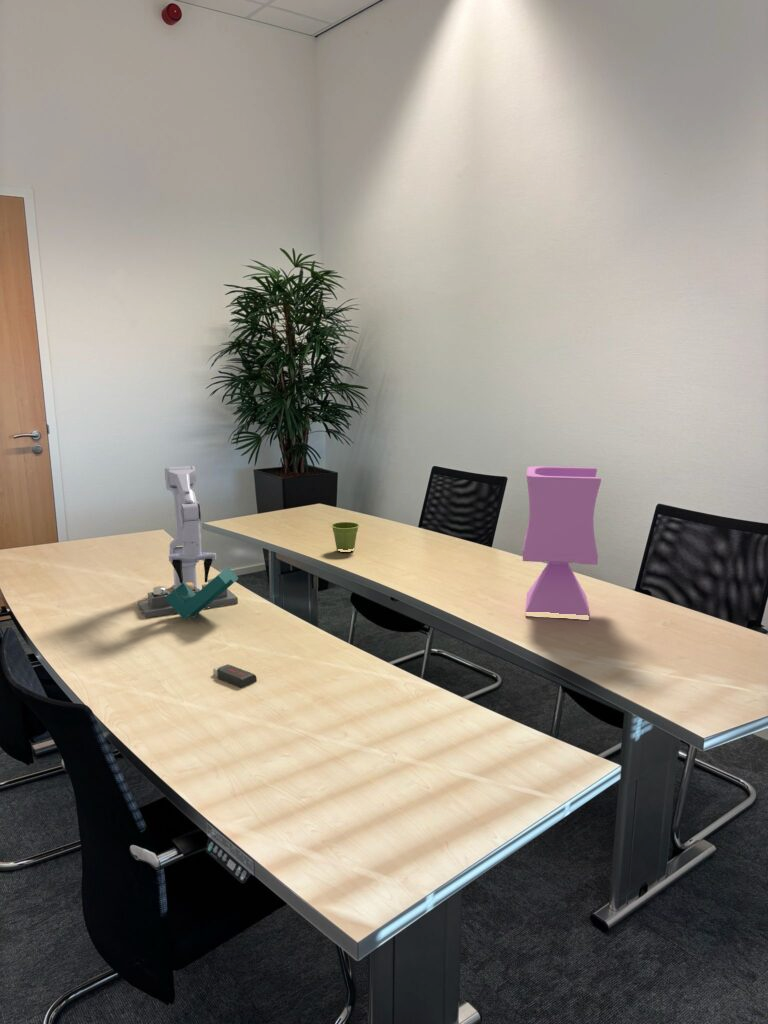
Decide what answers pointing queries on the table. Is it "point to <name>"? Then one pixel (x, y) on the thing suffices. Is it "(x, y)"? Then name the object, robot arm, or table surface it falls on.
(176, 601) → the teal l-shaped bracket
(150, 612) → the control panel
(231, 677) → the usb drive
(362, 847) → the table surface
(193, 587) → the middle knob
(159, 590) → the knob
